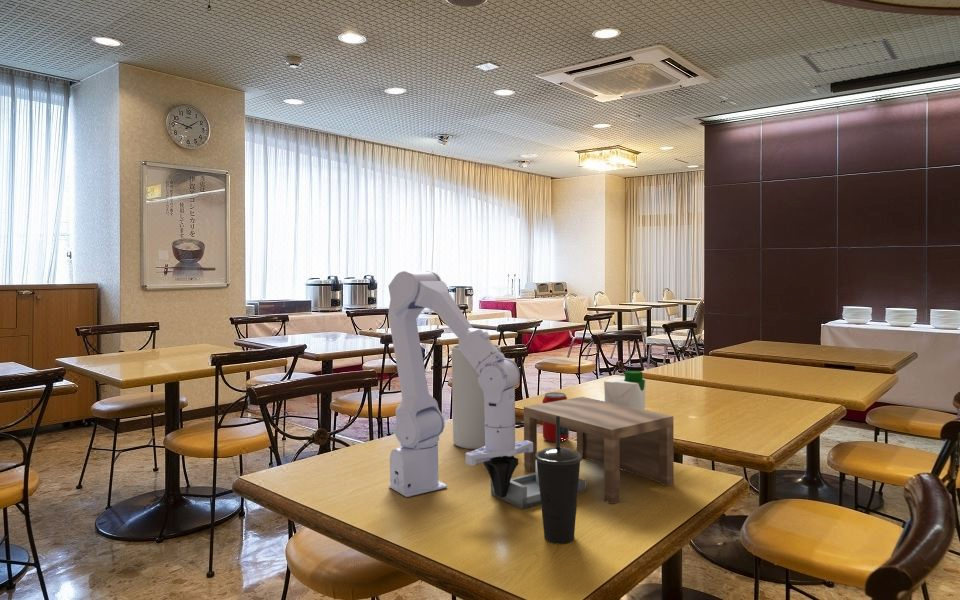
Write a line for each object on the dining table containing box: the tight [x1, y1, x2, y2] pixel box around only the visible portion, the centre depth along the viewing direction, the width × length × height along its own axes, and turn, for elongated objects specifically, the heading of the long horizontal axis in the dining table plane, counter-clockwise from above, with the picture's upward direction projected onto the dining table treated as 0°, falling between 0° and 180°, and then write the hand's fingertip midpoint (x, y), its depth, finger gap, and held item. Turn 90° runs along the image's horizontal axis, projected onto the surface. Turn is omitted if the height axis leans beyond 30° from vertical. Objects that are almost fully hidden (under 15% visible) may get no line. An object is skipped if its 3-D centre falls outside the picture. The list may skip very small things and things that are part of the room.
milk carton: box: [603, 370, 647, 410], centre depth 146 cm, size 9×9×20 cm
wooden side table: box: [523, 396, 675, 505], centre depth 131 cm, size 18×26×14 cm
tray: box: [490, 460, 587, 510], centre depth 122 cm, size 16×10×5 cm, turn 125°
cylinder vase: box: [451, 344, 502, 450], centre depth 158 cm, size 12×12×25 cm
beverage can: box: [542, 392, 570, 443], centre depth 160 cm, size 7×7×12 cm
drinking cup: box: [535, 416, 583, 545], centre depth 100 cm, size 8×8×20 cm
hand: (500, 495), depth 116 cm, fingers closed
